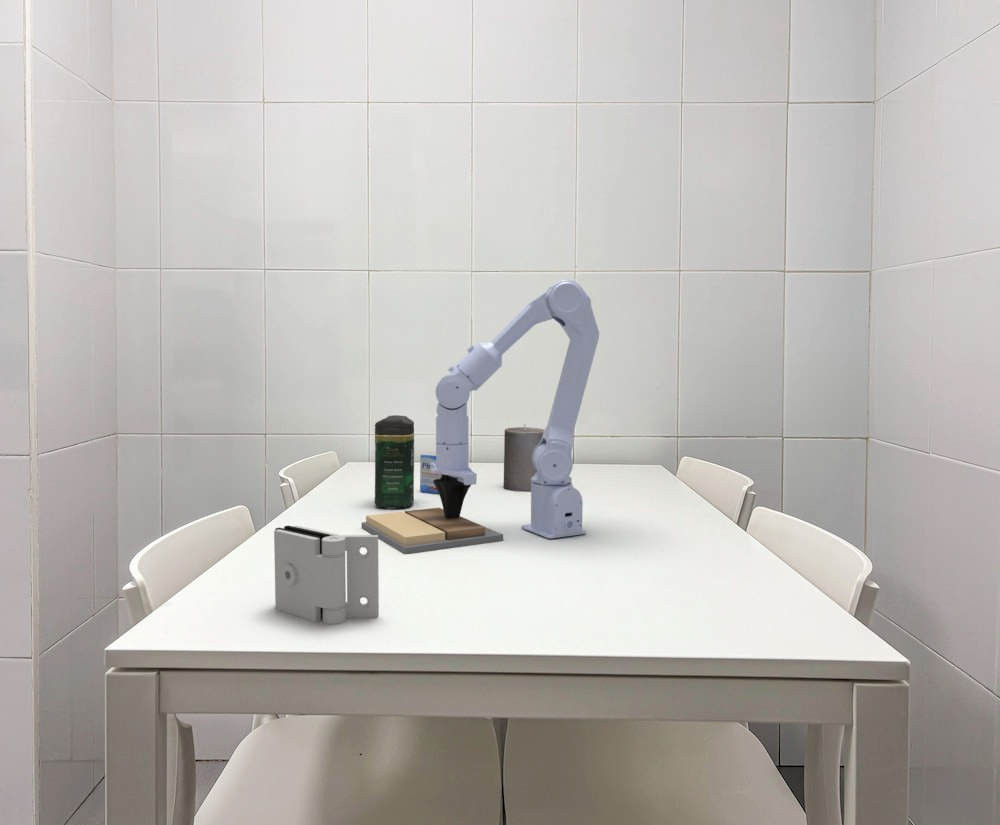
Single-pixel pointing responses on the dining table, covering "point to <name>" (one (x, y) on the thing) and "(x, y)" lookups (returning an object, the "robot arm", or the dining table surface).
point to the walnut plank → (448, 523)
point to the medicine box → (428, 474)
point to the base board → (418, 533)
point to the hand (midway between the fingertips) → (452, 518)
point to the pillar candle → (520, 457)
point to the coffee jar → (394, 462)
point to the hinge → (325, 574)
